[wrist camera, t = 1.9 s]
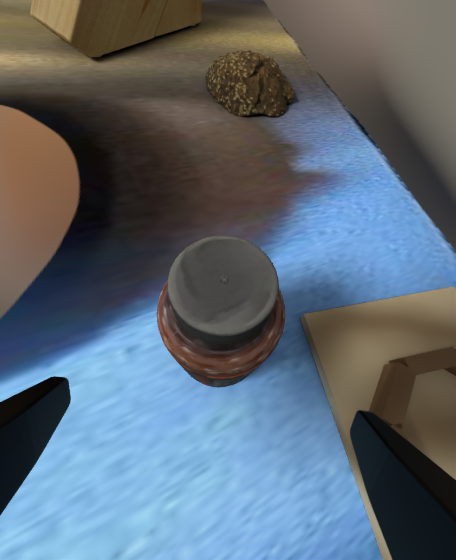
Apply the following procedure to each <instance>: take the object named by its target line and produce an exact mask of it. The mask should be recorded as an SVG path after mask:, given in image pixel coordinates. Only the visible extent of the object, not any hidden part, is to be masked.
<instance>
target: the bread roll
mask: <svg viewBox="0 0 456 560" xmlns="http://www.w3.org/2000/svg"><path fill="white" fill-rule="evenodd" d="M206 85H207V90H208V92H210V94H211V95H212V96H213V98H214V100H215V102H217V103H218V104H221V105H222V106H223V107H224V108H225V109H227V110H228V111H229V112H230V113H231V114H233V115H236V116H239V117H245V116H250V115H256V114H265V115H268V116H269V117H279V116H281V115H283V114H284V113H285V111H286V105H288V104H290V103H291V102H292V101H293V99H294V98H293V97H294V92H293V91H292V87H291V86H290V84H289V82H288V81H287V80H286V77H285V76H283V74H282V72H281V70H280V69H279V65H278V63H277V62H275V61H274V60H273V58H272V57H270V56H262V55H260V54H258V53H252V52H251V51H247V52H245V51H238V52H234V53H233V52H232V53H228V54H227V55H224V56H218V59H217V60H216V61H214V62H213V63H212V64H211V65H210V67H209V68H208V71H207V73H206Z"/></svg>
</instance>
